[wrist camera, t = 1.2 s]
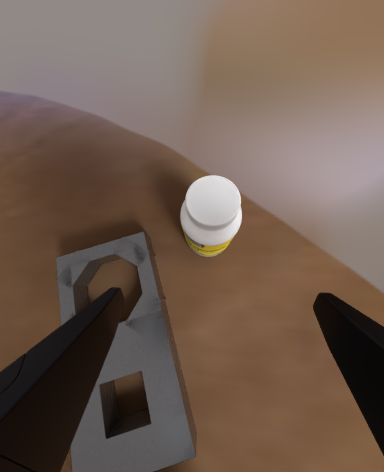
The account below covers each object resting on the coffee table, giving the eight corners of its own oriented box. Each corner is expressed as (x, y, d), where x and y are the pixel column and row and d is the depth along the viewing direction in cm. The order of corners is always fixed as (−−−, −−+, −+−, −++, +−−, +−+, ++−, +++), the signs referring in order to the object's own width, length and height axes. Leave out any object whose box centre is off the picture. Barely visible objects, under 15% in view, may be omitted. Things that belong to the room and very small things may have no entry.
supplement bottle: (180, 251, 22) (165, 223, 12) (192, 211, 23) (186, 159, 14) (224, 262, 21) (243, 243, 12) (233, 221, 22) (257, 173, 13)
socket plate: (198, 431, 17) (197, 456, 14) (91, 468, 16) (72, 499, 14) (150, 236, 22) (144, 229, 20) (70, 260, 22) (54, 256, 20)
